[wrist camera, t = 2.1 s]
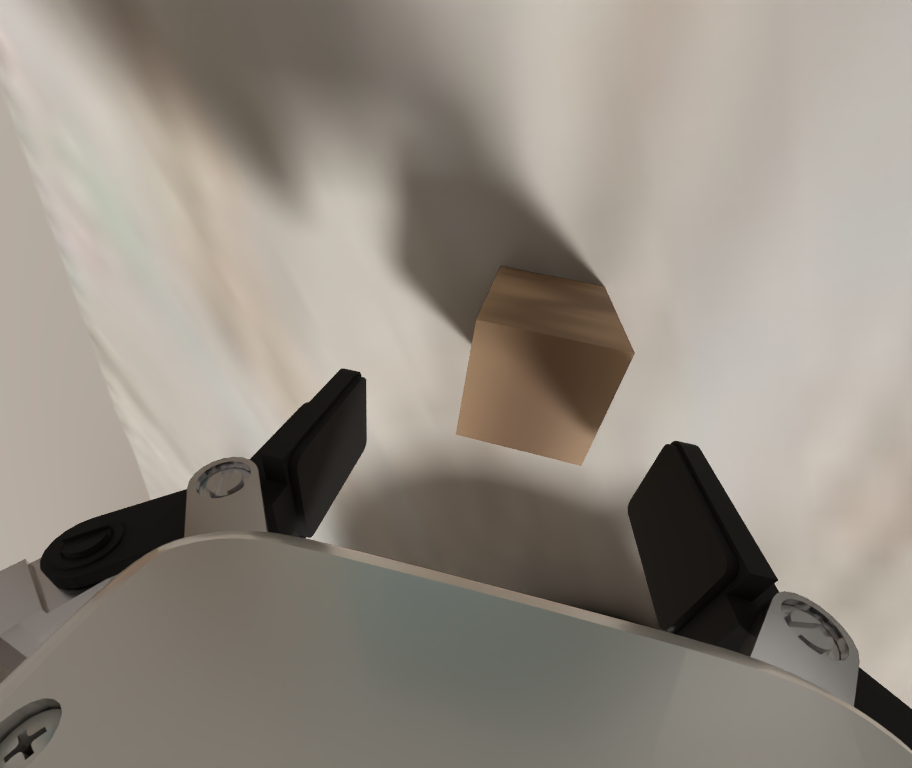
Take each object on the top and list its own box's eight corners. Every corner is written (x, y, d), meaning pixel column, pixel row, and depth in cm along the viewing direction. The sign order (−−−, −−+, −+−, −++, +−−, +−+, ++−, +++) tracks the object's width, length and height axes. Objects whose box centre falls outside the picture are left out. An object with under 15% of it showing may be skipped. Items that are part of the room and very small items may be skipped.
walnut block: (604, 286, 16) (634, 353, 11) (571, 374, 19) (581, 465, 14) (500, 266, 17) (475, 319, 11) (482, 354, 20) (456, 434, 14)
